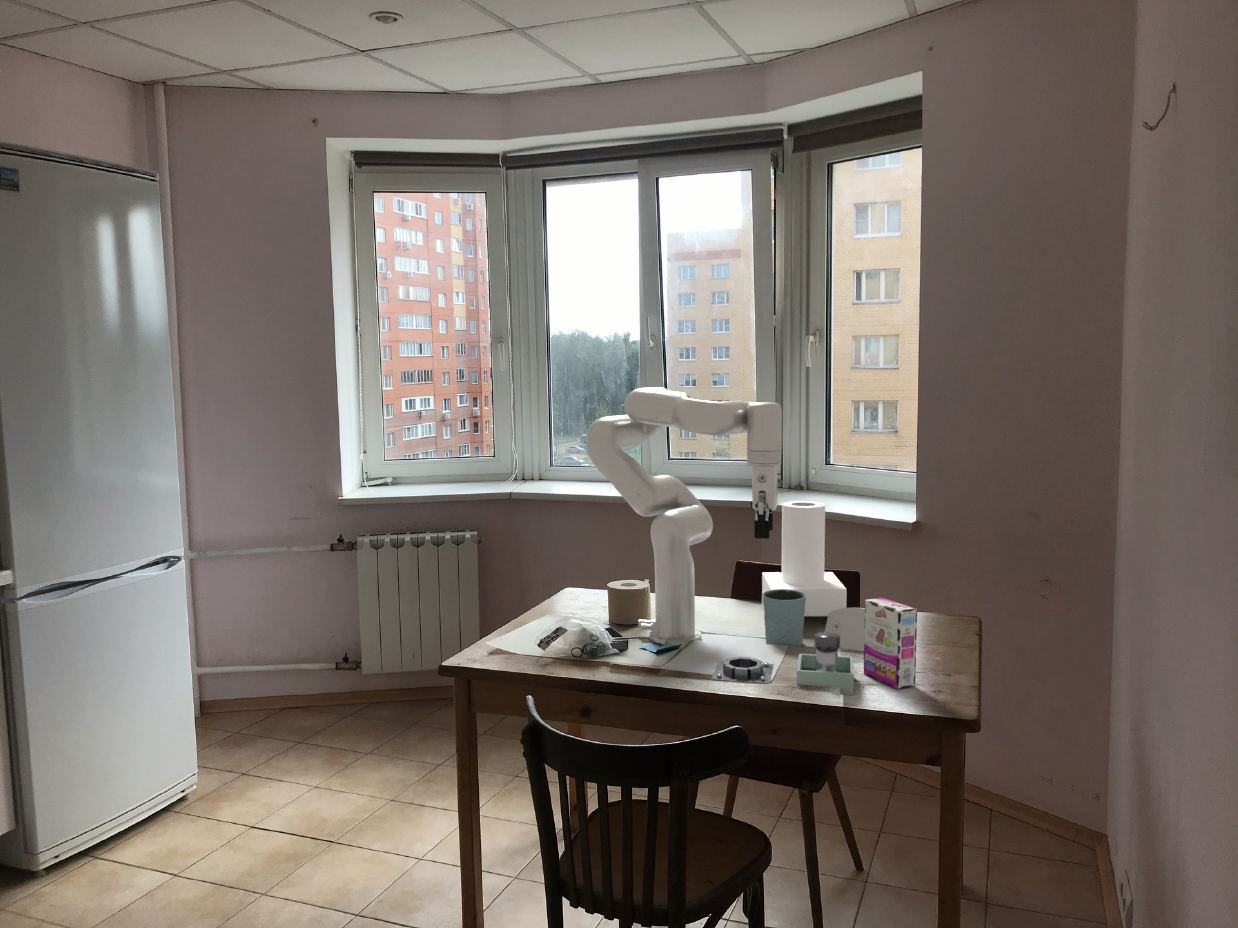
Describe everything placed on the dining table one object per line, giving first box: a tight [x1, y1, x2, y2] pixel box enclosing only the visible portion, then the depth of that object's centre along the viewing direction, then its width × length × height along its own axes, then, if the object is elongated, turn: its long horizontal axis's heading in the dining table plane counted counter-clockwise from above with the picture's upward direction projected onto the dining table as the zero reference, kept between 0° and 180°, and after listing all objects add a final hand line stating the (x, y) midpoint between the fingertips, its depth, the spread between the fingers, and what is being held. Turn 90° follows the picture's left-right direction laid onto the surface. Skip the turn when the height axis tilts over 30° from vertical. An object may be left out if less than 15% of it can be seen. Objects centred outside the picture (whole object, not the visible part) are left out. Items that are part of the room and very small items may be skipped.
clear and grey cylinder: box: [813, 631, 841, 672], centre depth 191 cm, size 5×5×9 cm
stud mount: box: [711, 656, 775, 684], centre depth 196 cm, size 12×12×3 cm
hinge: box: [824, 607, 865, 652], centre depth 217 cm, size 17×5×10 cm, turn 65°
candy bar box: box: [863, 597, 918, 690], centre depth 193 cm, size 11×5×16 cm, turn 24°
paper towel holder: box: [761, 500, 848, 617], centre depth 239 cm, size 19×19×30 cm
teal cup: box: [763, 589, 806, 647], centre depth 219 cm, size 10×10×12 cm
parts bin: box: [796, 653, 855, 696], centre depth 192 cm, size 11×11×4 cm
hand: (763, 534), depth 206 cm, fingers open, 9 cm apart
